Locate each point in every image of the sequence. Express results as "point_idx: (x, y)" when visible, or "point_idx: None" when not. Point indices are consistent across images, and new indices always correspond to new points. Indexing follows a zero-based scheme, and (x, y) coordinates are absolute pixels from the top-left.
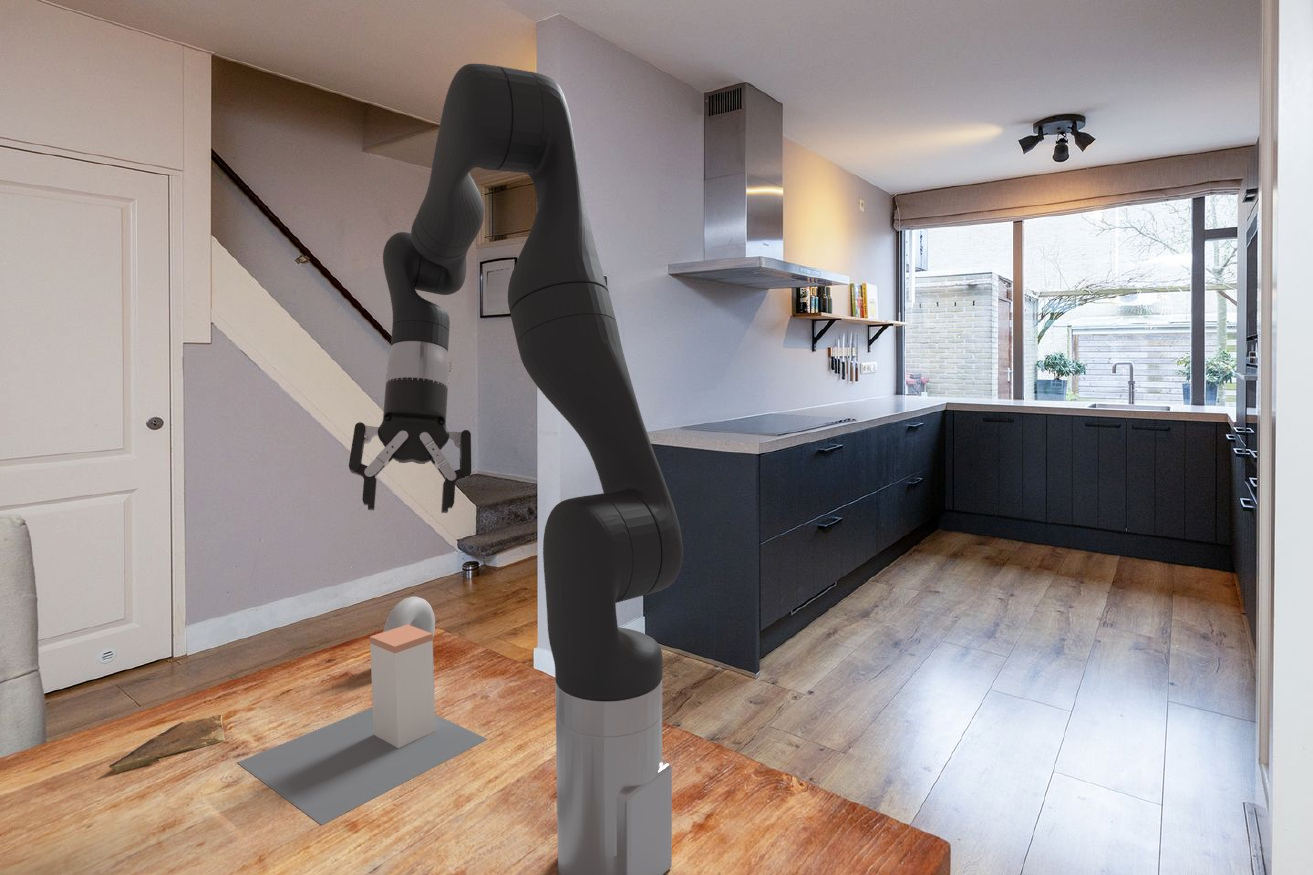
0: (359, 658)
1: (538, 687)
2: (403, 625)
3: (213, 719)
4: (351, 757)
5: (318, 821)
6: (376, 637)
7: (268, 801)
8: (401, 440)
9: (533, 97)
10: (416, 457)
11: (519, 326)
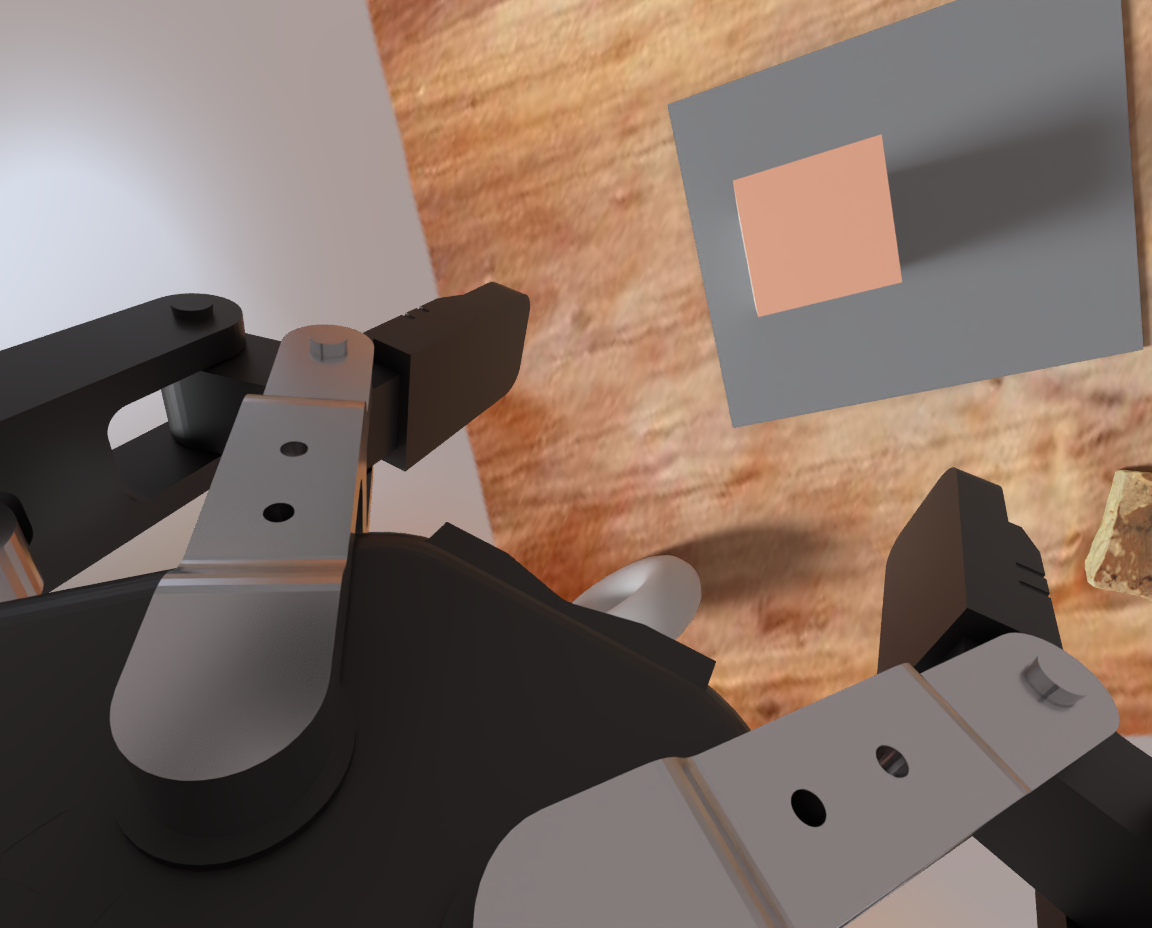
0: (715, 677)
1: (473, 288)
2: (653, 587)
3: (1118, 565)
4: (935, 209)
5: None
6: (889, 259)
7: (1147, 148)
8: (651, 822)
9: None
10: (513, 591)
11: None
